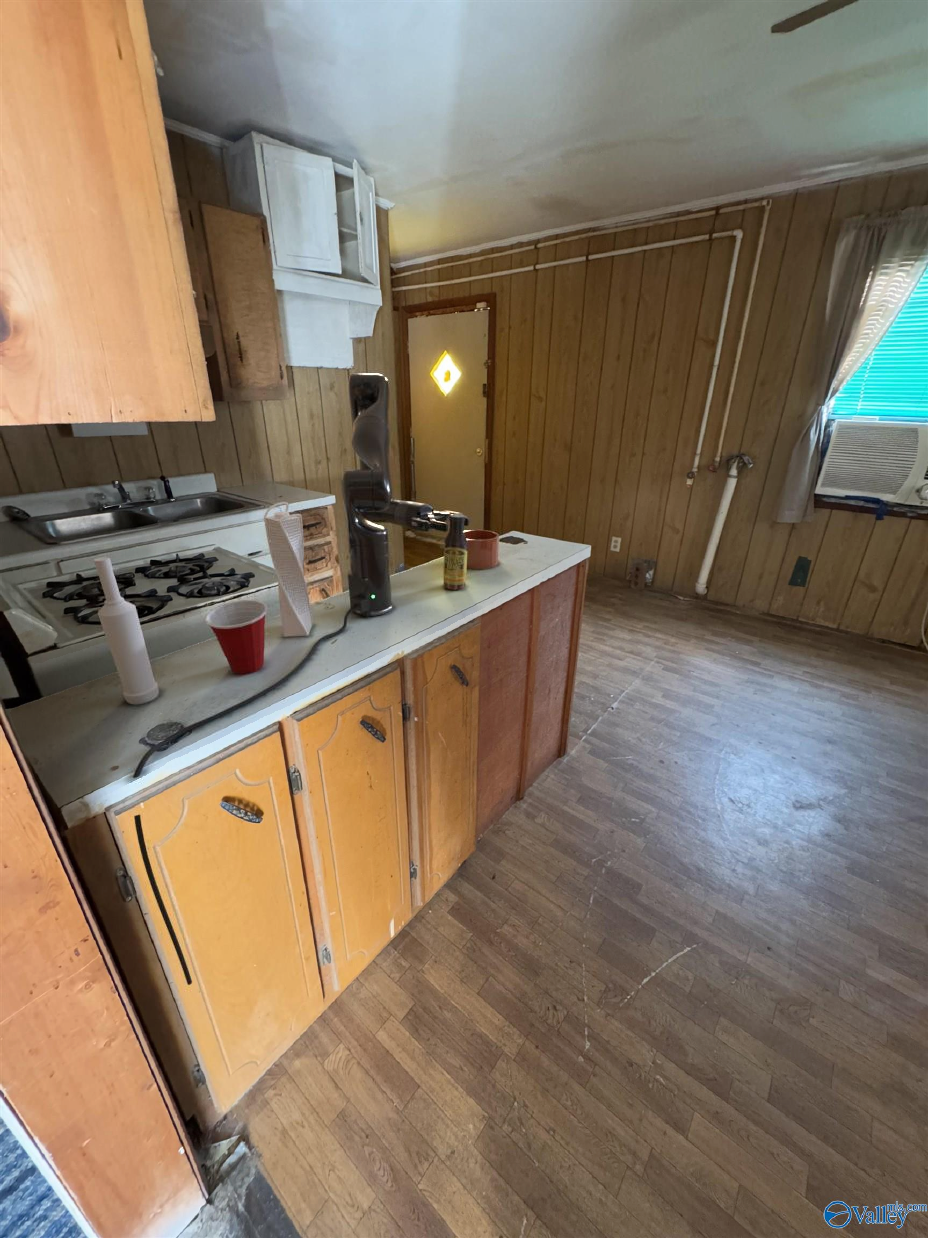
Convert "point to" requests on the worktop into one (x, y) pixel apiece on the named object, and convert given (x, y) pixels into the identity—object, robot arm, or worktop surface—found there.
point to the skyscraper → (289, 570)
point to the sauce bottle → (455, 554)
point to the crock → (482, 549)
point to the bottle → (125, 639)
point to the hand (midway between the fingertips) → (457, 524)
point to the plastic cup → (240, 633)
